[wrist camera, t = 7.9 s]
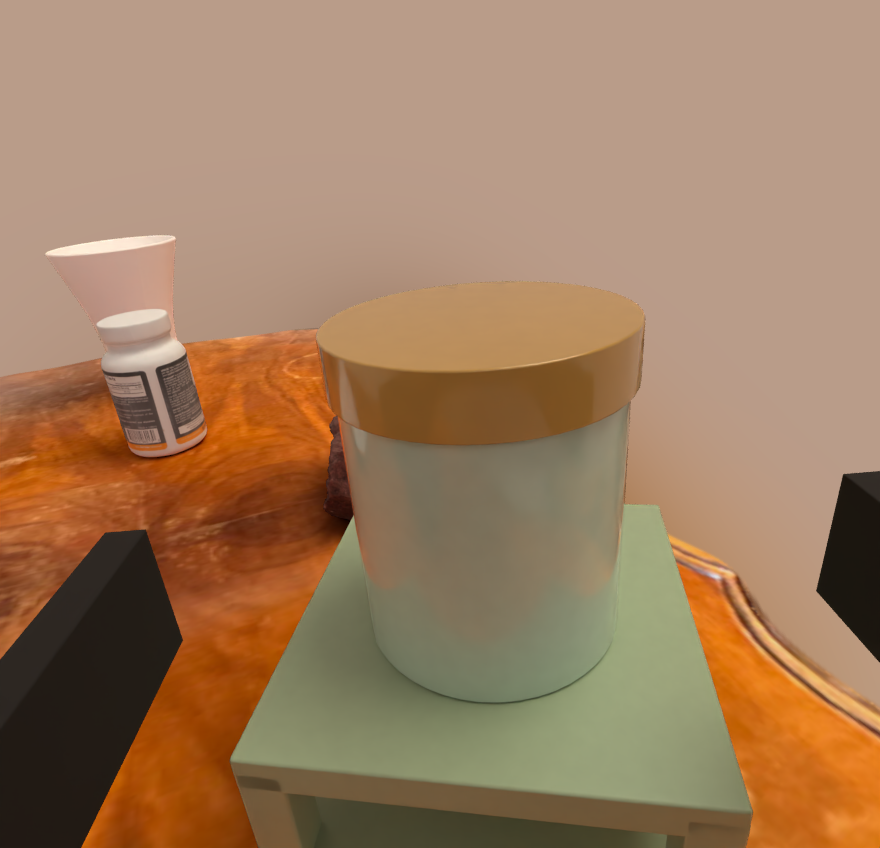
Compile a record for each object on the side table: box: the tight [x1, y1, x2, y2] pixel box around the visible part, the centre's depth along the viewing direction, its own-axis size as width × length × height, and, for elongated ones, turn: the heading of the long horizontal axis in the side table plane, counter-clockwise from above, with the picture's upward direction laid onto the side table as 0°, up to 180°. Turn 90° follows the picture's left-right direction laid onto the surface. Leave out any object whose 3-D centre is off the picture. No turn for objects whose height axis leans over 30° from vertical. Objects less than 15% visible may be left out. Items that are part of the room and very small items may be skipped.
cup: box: [45, 235, 177, 352], centre depth 56 cm, size 10×10×14 cm
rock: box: [323, 416, 354, 520], centre depth 37 cm, size 11×6×8 cm
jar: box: [316, 281, 645, 703], centre depth 16 cm, size 7×7×8 cm
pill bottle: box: [96, 309, 207, 457], centre depth 44 cm, size 6×6×10 cm
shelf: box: [230, 504, 753, 848], centre depth 19 cm, size 11×11×7 cm
